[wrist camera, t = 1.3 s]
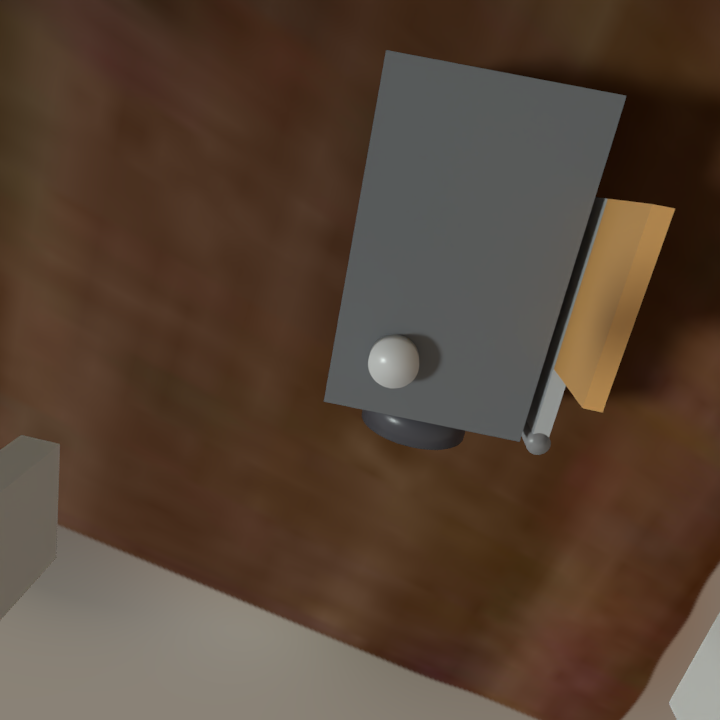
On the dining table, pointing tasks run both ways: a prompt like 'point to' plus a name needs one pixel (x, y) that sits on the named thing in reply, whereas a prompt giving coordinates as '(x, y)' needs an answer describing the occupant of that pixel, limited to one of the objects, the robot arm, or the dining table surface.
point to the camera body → (464, 246)
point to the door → (597, 310)
